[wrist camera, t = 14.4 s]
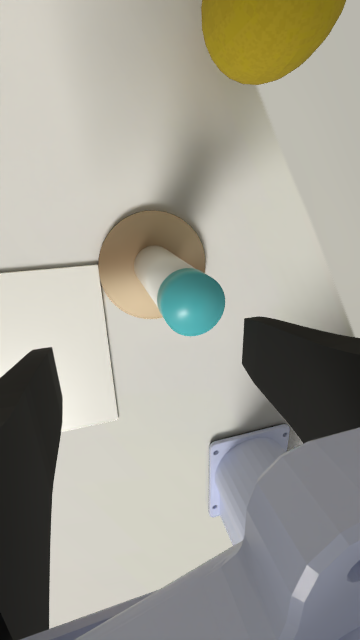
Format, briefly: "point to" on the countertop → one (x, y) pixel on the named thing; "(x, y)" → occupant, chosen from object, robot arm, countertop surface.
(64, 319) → the paper
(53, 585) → the countertop surface
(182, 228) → the coaster
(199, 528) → the countertop surface
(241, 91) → the countertop surface
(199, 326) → the marker
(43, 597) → the robot arm
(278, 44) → the lemon
